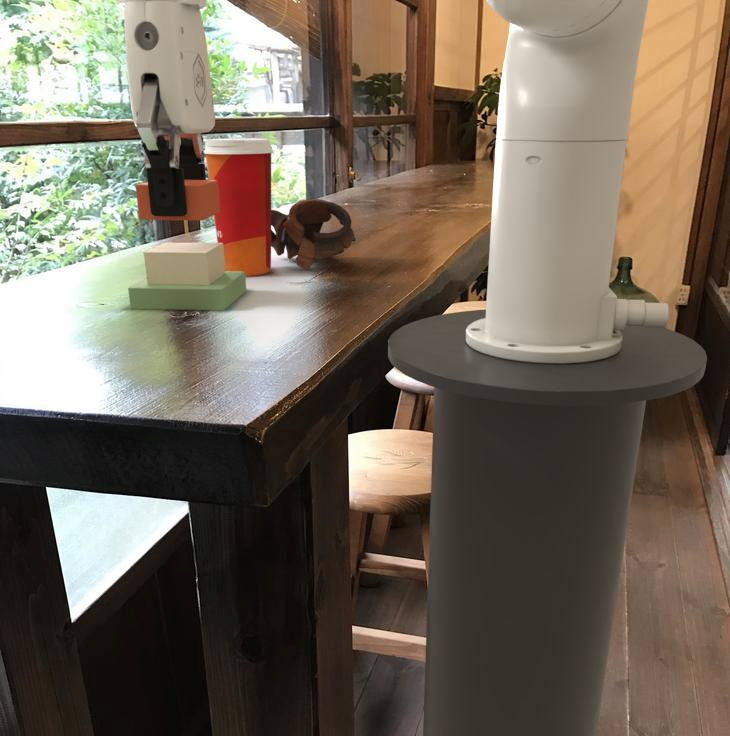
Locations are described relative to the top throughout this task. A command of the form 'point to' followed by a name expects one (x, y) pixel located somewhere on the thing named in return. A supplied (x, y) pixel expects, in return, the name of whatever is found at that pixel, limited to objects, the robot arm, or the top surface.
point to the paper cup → (242, 201)
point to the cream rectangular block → (184, 263)
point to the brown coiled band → (310, 231)
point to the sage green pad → (189, 294)
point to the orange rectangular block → (198, 199)
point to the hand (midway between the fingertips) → (180, 209)
